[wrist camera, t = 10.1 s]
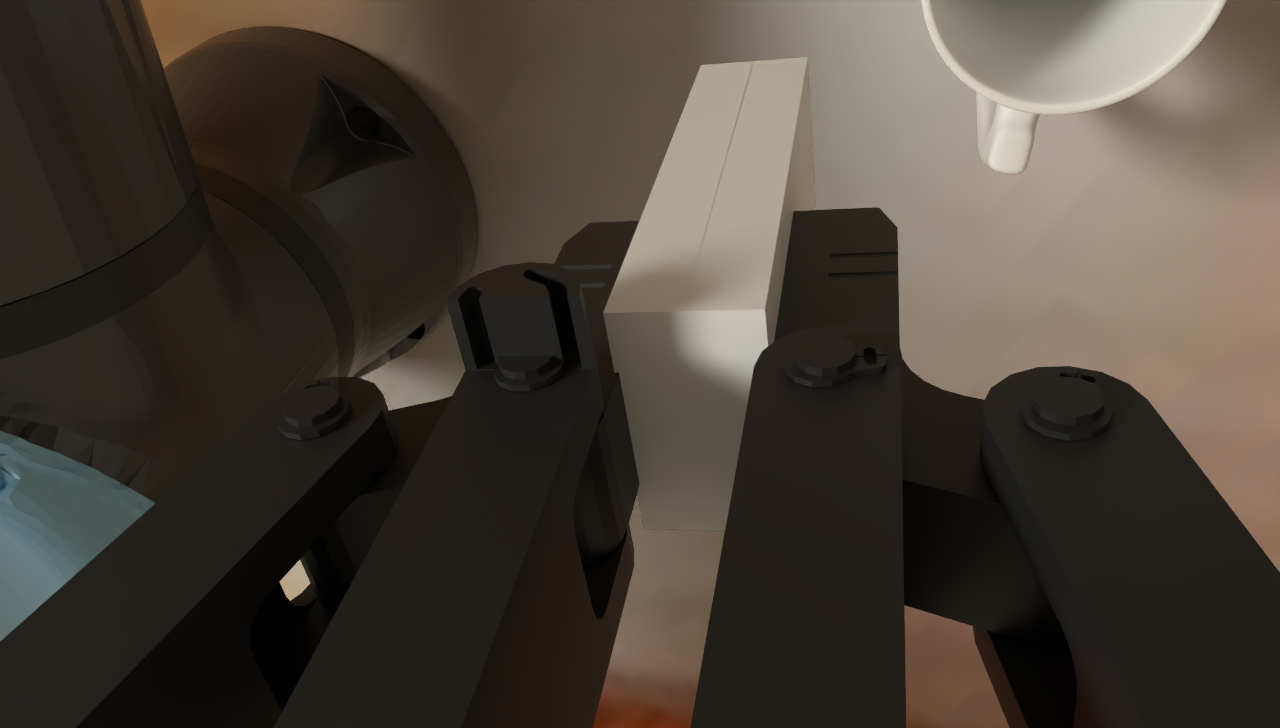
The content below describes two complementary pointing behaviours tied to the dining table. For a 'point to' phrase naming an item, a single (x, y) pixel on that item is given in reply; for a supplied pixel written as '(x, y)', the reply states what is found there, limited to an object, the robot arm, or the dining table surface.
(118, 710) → the robot arm
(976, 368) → the dining table surface
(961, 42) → the mug
